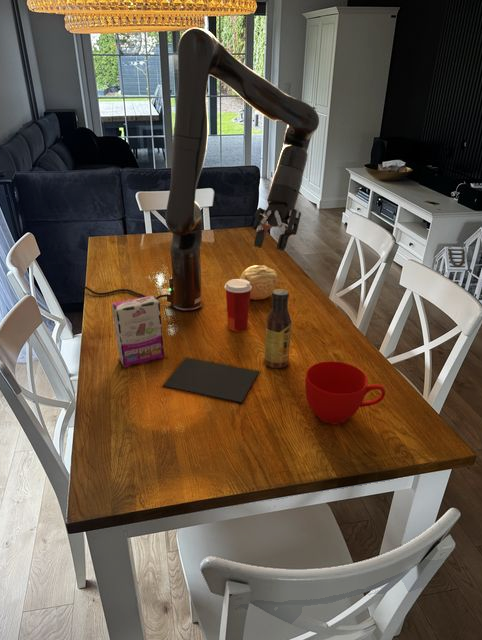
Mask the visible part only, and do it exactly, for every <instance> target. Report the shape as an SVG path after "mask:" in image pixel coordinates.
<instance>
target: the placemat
mask: <svg viewBox="0 0 482 640" xmlns="http://www.w3.org/2000/svg"><path fill="white" fill-rule="evenodd" d="M259 373H260V371H259V370H254V369H248V368H244V367H239V366H233V365H227V364H221V363H216V362H212V361H206V360H201V359H196V358H189V357H185V358H184V359H183V360H182V361H181V363H180V364H179V365H178V366H177V368H176V369H175V370H174V371H173V373H172V374H171V375H170V376H169V377H168V378H167V380H166V381H165V382H164V383H163V384H162V388H166V389H170V390H176V391H180V392H185V393H191V394H194V395H200V396H204V397H210V398H213V399H219V400H223V401H228V402H232V403H233V402H234V403H238V404H243V402H244V401H245V399H246V397H247V395H248V393H249V391H250V389H251V388H252V386H253V384H254V382H255V381H256V378H257V377H258V375H259Z"/></svg>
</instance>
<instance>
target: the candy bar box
mask: <svg viewBox="0 0 482 640" xmlns="http://www.w3.org/2000/svg"><path fill="white" fill-rule="evenodd" d="M146 296H147V295H146ZM111 308H112V315H113V322H114V329H115V336H116V343H117V351H118V359H119V361H120V362H121V365H122V366H123V367H124V368H129V367H133V366H137V365H140V364H146V363H149V362H153V361H156V360H160V359H164V358H165V348H164V337H163V326H162V314H161V303H160V301H159V299H156V296H155V294H154V295H153V294H152V295H148V296H147V297H142V296H141V297H138V298H137V297H136V298H132V299H126V300H123V301H122V300H121V301H117V302H112V303H111Z"/></svg>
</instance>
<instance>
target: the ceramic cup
mask: <svg viewBox="0 0 482 640" xmlns="http://www.w3.org/2000/svg"><path fill="white" fill-rule="evenodd" d="M304 378H305V379H304V380H305V381H304V382H305V383H304V387H305V388H304V389H305V398H306V401H307V404H308V406H309V408H310V409H311V411H312V412H313V414H314V415H315V416H316V417H317V418H318V419H319V420H320V421H321V422H324V423H326V424H331V425H338V424H341V423H343V422H346V420H348V419H351V417H354V415H355V414H356V413H357V412H358V411H359V409H361V408H364V407H369V406H374V405H376V404H378V403H381V401H383V400H384V399H385V396H386V389H385V388H384V386H383V385H381V384H377V383H375V384H374V383H373V384H369V379H368V376H367V375H366V373H365V372H364V371H363V370H361V369H360V368H358V367H357V366H355V365H352V364H350V363H346V362H343V361H334V360H333V361H332V360H331V361H329V360H328V361H322V362H317V363H315V364H313V365H311V366H310V367H309V368H308V369H307V370H306V373H305V377H304ZM368 384H369V385H368ZM373 390H379V391H381V394H380V395H379V396H378V397H376V398H374V399H370V400H367V401H364V399H365V396H367V394H368V393H369V392H370V391H373Z"/></svg>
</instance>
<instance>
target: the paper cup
mask: <svg viewBox="0 0 482 640" xmlns="http://www.w3.org/2000/svg"><path fill="white" fill-rule="evenodd" d="M223 288H224V289H225V297H226V298H225V299H226V314H227V315H226V316H227V317H226V318H227V327H228V329H229V330H230V331H232V332H243V331H245V330H247V329H248V322H249V311H250V303H251V302H250V300H251V299H250V291H251V289H252V287H251V285H250V282H249V281H247V280H244V279H240V278H233V279H229V280H228V281H226V283H225V285H224V287H223Z"/></svg>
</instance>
